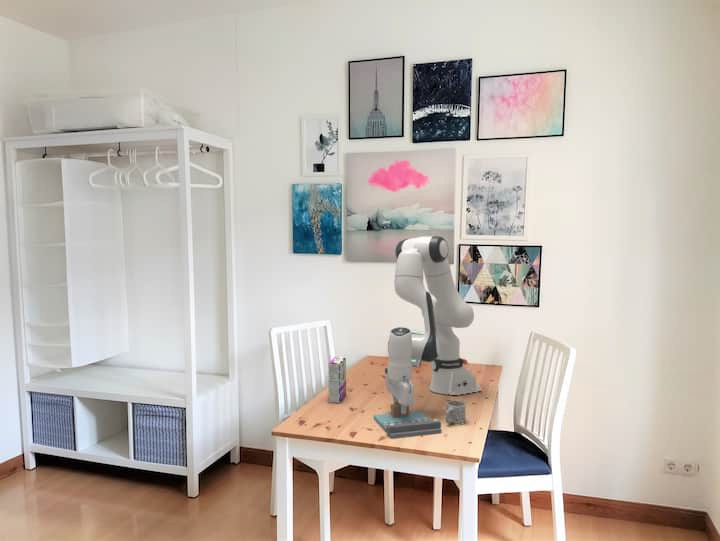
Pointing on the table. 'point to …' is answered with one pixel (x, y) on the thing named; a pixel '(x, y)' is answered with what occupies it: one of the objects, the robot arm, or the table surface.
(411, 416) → the teal flat block
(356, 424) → the table surface
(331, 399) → the candy bar box
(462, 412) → the mug
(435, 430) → the grey toy road piece
